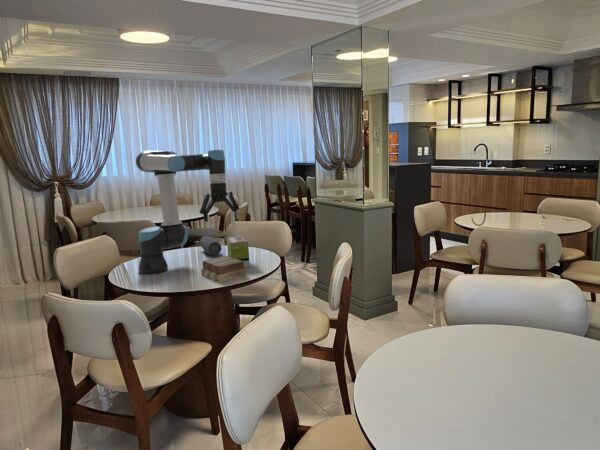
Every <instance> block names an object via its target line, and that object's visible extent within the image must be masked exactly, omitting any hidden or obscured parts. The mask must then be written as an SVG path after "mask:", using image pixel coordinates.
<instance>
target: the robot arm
mask: <svg viewBox="0 0 600 450" xmlns="http://www.w3.org/2000/svg"><path fill="white" fill-rule="evenodd" d="M135 165H136V167H137V169H139V171H141V172H144V173H154V176H155V178H156V179H157V182H158V190H159V197H160V198H159V199H160V203H161V204H160V205H161V213H162V221H163V222H162V223H161V224H160V226H151V227H145V228H143V229H141V230H140V231H139V232H138V246H139V253H140V261H139V264H138V273H139V274H142V275H155V274H161V273H163V272H166V271H168V269H169V268H168V263H167V260H166V259H165V256H164V250H167V249H172V248H179V247H181V246H184V245H185V244H186V243H187V241H188V240H189V230H188V229H187V226H186V225H184V224H183V222H182V221H181V220H180V215H179V207H178V200H177V192H176V181H175V176H176V175H177V173H179V172H189V171H205V170H206V171H207V170H208V171H209V182H210V184H209V186H210V187H209V188H210V193H204V199H203V201H202V205H201V208H200V210H199V214H202V215H203V220H204V223H205V228H206V229H211V219H210V214H209V212H210V211H211V210H212V208H213V207H214V205H215V204H216V203H221V202H224V203H225V204H226V206H227V207H228V208H229V209H230V211H229V212H230V224H231V225H233V226H235V225H236V217H237V211H238V210H240V206H239V205H238V203H237V201H236V198H235V197H234V193H233V191H232V190H228V191H227V183H226V181H227V179H226V178H227V177H226V176H227V175H226V158H225V151H224V150H223V149H209V150H208V151H207V153H199V154H177V153H176V152H175V151H173V150H168V149H160V150H144V151H141V152H140V153H138V154H137V156H136V157H135ZM227 196H228V198H229V199H228V198H227ZM210 198H211V199H210ZM229 200H230V201H229Z"/></svg>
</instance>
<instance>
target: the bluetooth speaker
mask: <svg viewBox="0 0 600 450" xmlns="http://www.w3.org/2000/svg"><path fill="white" fill-rule="evenodd" d="M199 245H200V247H201V248H202V249H203V251H204V252H206V253H207V254H208V255H209V256H217V255H219V254H220V253H221V251H222V245H221V243H220V242H219V241H217V240H216V239H215V238H213V237H211V236H208V235H204V236H202V237H201V239H200V240H199Z"/></svg>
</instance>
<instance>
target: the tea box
mask: <svg viewBox="0 0 600 450" xmlns="http://www.w3.org/2000/svg"><path fill="white" fill-rule="evenodd" d="M226 244H227V245H226V247H227V256H228V257H231V258H234V259H237V260H241V261H243V262H244V268H249V267H250V266H251V265H250V264H251V263H250V252H249V241H248V240H247V238H245V237H244V236H243V235H242V236H241V235H240V236H232V237H226Z"/></svg>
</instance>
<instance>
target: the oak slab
mask: <svg viewBox="0 0 600 450" xmlns="http://www.w3.org/2000/svg"><path fill="white" fill-rule="evenodd" d="M201 275H202V276H204V277H206V278H208V279H211V280H213V281H216V282H218V283H222V282H225V281H229V280H233V279H237V278H241V277H244V276H246V268H244V269H242V270H237V271H233V272H229V273H225V274H220V275H219V274H217V273H214V272H211V271H209V270H206V269H204V268H203V267H202V268H201Z"/></svg>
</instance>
